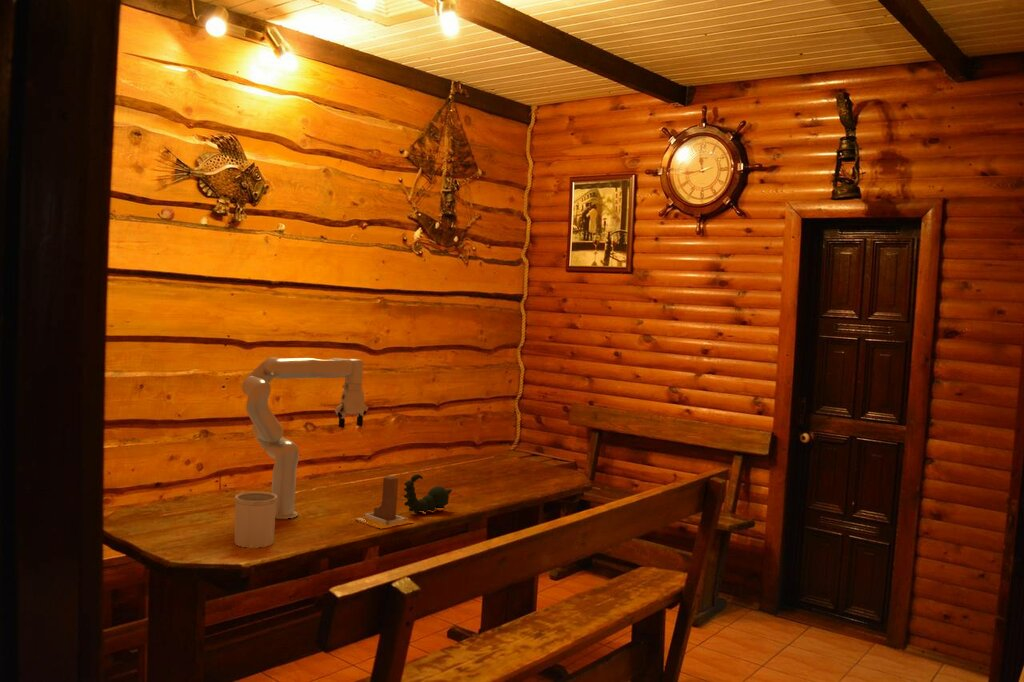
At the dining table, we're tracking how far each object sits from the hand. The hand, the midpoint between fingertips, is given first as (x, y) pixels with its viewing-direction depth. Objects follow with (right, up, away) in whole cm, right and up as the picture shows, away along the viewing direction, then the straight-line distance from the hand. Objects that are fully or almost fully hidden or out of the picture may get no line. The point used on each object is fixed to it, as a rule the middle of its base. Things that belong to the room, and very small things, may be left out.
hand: (350, 426), depth 367 cm
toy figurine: (+33, -39, +6) cm, 51 cm away
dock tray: (+17, -38, -14) cm, 44 cm away
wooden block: (+17, -37, -14) cm, 43 cm away
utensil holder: (-25, -37, -56) cm, 72 cm away
